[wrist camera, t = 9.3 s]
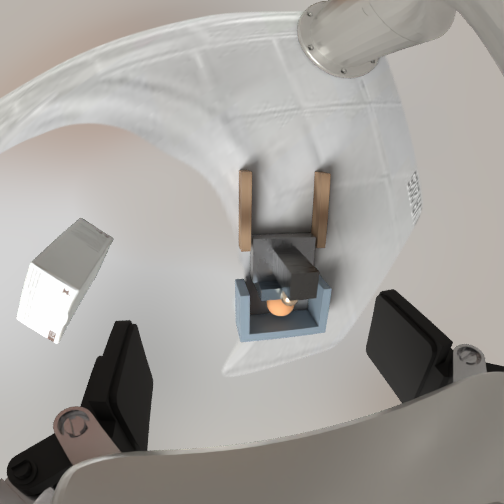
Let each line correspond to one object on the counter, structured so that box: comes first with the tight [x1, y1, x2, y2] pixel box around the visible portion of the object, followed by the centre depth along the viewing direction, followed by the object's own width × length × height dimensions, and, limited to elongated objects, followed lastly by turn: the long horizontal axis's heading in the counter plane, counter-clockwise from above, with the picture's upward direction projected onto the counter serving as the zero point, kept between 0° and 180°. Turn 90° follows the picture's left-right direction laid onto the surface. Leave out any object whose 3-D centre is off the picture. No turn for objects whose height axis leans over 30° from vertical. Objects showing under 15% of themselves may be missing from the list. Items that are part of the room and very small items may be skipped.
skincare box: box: [17, 218, 113, 344], centre depth 30 cm, size 8×6×15 cm
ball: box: [267, 299, 294, 316], centre depth 43 cm, size 4×4×4 cm
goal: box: [235, 275, 332, 342], centre depth 42 cm, size 7×12×5 cm, turn 89°
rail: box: [239, 170, 331, 252], centre depth 39 cm, size 10×11×2 cm
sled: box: [250, 233, 319, 306], centre depth 37 cm, size 8×8×10 cm
